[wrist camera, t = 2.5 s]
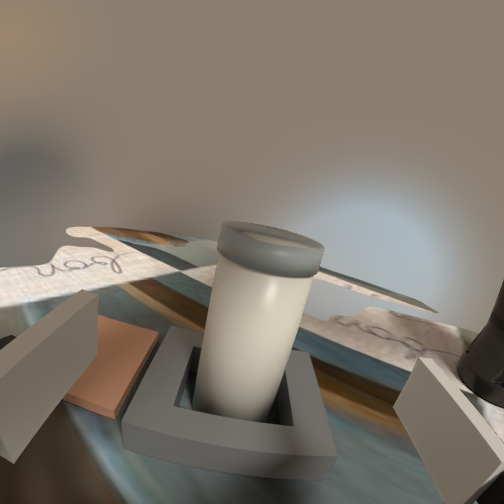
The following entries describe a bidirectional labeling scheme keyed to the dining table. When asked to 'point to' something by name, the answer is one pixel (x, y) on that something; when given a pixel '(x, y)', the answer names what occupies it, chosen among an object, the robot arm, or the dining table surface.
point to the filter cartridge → (253, 318)
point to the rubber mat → (112, 367)
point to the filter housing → (229, 420)
